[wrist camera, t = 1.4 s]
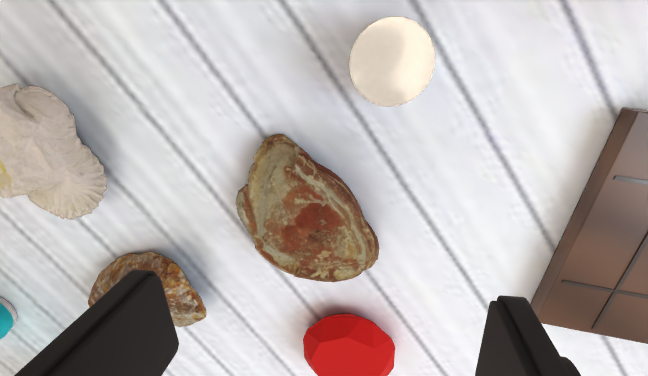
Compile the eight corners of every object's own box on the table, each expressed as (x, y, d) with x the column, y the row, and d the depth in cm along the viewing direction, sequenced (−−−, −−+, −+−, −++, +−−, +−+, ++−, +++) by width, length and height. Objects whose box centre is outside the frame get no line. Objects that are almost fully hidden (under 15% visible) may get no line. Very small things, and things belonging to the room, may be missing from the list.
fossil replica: (98, 216, 33) (155, 151, 30) (26, 266, 25) (93, 185, 23) (-16, 130, 30) (36, 48, 27) (-137, 156, 22) (-83, 47, 20)
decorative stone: (214, 337, 30) (118, 360, 36) (237, 302, 33) (147, 327, 40) (147, 256, 27) (56, 295, 33) (180, 227, 31) (93, 267, 37)
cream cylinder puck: (359, 17, 23) (355, 11, 19) (435, 26, 22) (445, 21, 19) (348, 94, 25) (343, 100, 21) (417, 103, 24) (424, 112, 21)
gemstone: (395, 309, 32) (397, 334, 29) (391, 375, 35) (392, 402, 32) (304, 302, 33) (298, 324, 30) (309, 366, 36) (303, 391, 34)
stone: (222, 206, 30) (205, 222, 28) (278, 122, 26) (266, 131, 24) (335, 288, 32) (330, 311, 29) (406, 220, 28) (408, 240, 25)
